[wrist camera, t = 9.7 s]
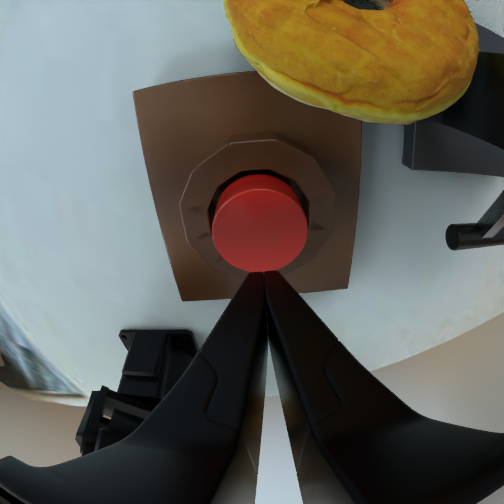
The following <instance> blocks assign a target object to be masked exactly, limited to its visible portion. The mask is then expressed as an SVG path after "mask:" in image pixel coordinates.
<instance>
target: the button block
mask: <svg viewBox="0 0 504 504" xmlns="http://www.w3.org/2000/svg"><path fill="white" fill-rule="evenodd" d="M133 98H134V104H135V110H136V116H137V122H138V128H139V133H140V139H141V144H142V149H143V154H144V159H145V164H146V169H147V173H148V178H149V182H150V187H151V191H152V195H153V200H154V204H155V208H156V212H157V216H158V220H159V224H160V227H161V231H162V235H163V239H164V242H165V246H166V249H167V253H168V257H169V260H170V263H171V267H172V270H173V274H174V277H175V280H176V283H177V287H178V290H179V293H180V296H181V299H182V301H199V300H218V299H232V298H233V297H234V295H235V294H236V292H237V290H238V289H239V287H240V286H241V284H242V283H243V281H244V279H245V278H246V276H247V275H248V273H250V272H248V271H244V270H241V269H239V268H236V267H234V266H233V265H231V264H229V263H228V262H227V261H226V260H225V259H224V258H222V256H221V255H220V254H219V252H218V251H217V249H216V247H215V245H214V242H213V238H212V224H213V220H214V215H215V211H216V207H217V203H218V200H219V198H220V196H221V194H222V192H223V191H224V190H225V189H226V188H227V187H228V186H229V185H230V184H231V183H232V182H234V181H236V180H237V179H239V178H242V177H244V176H248V175H253V174H265V175H270V176H274V177H277V178H279V179H281V180H283V181H284V182H286V183H287V184H288V185H289V186H290V187H291V188H292V189H293V190H294V192H295V193H296V195H297V197H298V199H299V201H300V204H301V206H302V209H303V211H304V214H305V216H306V219H307V224H308V236H307V240H306V243H305V245H304V247H303V249H302V251H301V252H300V254H299V255H298V256H297V257H296V258H295V259H294V260H293V261H292V262H290V263H289V264H287V265H286V266H284V267H282V268H280V269H277V271H279V272H280V273H281V275H282V276H283V277H284V278H285V279H286V280H287V281H288V282H289V284H290V285H291V286H292V287H293V288H294V289H295V290H296V292H297V293H309V292H319V291H329V290H339V289H347V288H348V283H349V277H350V270H351V263H352V256H353V248H354V240H355V231H356V221H357V211H358V200H359V186H360V170H361V146H362V120H358V119H356V118H352V117H348V116H344V115H341V114H339V113H336V112H333V111H331V110H328V109H323V108H319V107H314V106H310V105H307V104H304V103H302V102H299V101H297V100H295V99H293V98H291V97H290V96H288V95H285V94H284V93H282V92H280V91H279V90H277V89H275V88H274V87H273V86H271V85H270V84H269V83H268V82H267V81H266V80H265V79H264V78H263V77H262V76H261V75H260V74H259V73H258V72H257V71H248V72H237V73H227V74H219V75H211V76H204V77H198V78H192V79H186V80H181V81H175V82H170V83H165V84H161V85H156V86H152V87H148V88H144V89H140V90H136V91H134V92H133ZM263 275H264V272H263ZM264 288H265V286H264Z"/></svg>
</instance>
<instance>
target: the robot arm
mask: <svg viewBox="0 0 504 504" xmlns="http://www.w3.org/2000/svg"><path fill="white" fill-rule="evenodd" d="M264 286H265V288H264ZM265 300H266V301H265ZM266 313H267V315H266ZM267 327H268V329H267ZM119 337H120V339H121V341H122V342H123V344H124V346H125V347H126V349H127V350H128V354H127V357H126V360H125V363H124V367H123V370H122V373H123V374H122V377H121V381H120V384H119V387H118V391H117V392H115V391H112V390H110V389H109V388H108V387H105V386H103V385H102V387H101V390H100V391H92V394H91V397H90V400H89V403H88V406H87V409H86V411H85V414H84V416H83V419H82V421H81V424H80V426H79V428H78V431H77V434H76V441H77V443H78V445H79V446H80V453H81V454H82V456H81V457H78V458H76V459H73V460H70V461H67V462H64V463H61V464H58V465H54V466H49V467H33V466H30V465H27V464H25V463H24V462H22V461H20V460H18V459H16V458H14V457H12V456H7V457H5V458H2V459H0V504H255V496H256V486H257V475H258V466H259V455H260V445H261V444H260V443H261V433H262V422H263V410H264V398H265V385H266V371H267V357H268V339H269V346H270V352H271V356H272V361H273V366H274V371H275V375H276V380H277V385H278V389H279V394H280V398H281V403H282V408H283V412H284V417H285V422H286V426H287V431H288V436H289V440H290V445H291V450H292V454H293V459H294V463H295V468H296V471H297V477H298V481H299V487H300V491H301V496H302V500H303V504H504V433H494V432H488V431H483V430H478V429H472V428H468V427H463V426H458V425H454V424H449V423H445V422H441V421H437V420H433V419H430V418H427V417H425V416H423V415H421V414H419V413H417V412H416V411H414V410H412V409H411V408H410V407H409V406H408V405H406V404H405V403H404V402H403V401H402V400H401V399H399V398H398V397H397V396H396V395H395V394H394V393H393V392H391V391H390V390H389V389H388V388H387V387H386V386H385V385H383V384H382V383H381V382H380V381H379V380H378V379H377V378H376V377H374V376H373V375H372V374H371V373H370V372H369V371H368V370H367V369H366V368H365V367H364V366H363V365H361V364H360V363H359V362H358V360H357V359H356V358H355V357H354V356H353V355H352V354H351V353H350V352H349V351H348V350H347V349H346V347H345V346H344V345H343V344H342V343H341V342H340V341H338V338H337V337H336V336H335V335H334V334H333V333H332V331H331V330H330V329H329V328H328V327H327V326H326V325H325V323H324V322H323V321H322V320H321V319H320V318H319V317H318V315H317V314H316V313H315V312H314V311H313V310H312V309H311V307H310V306H309V305H308V304H307V303H306V302H305V301H304V300H303V298H302V297H301V296H300V295H299V294H298V293H297V292H296V290H295V289H294V288H293V287H292V286H291V285H290V284H289V282H288V281H287V280H286V279H285V278H284V277H283V276H282V275H281V273H280V272H279V271H277V270H271V271H265V272H264V275H263V272H262V271H259V272H250V273H248V275H247V276H246V278H245V279H244V281H243V283H242V284H241V286H240V287H239V289H238V290H237V292H236V294H235V295H234V297H233V298H232V300H231V301H230V303H229V305H228V306H227V308H226V309H225V311H224V312H223V314H222V316H221V317H220V319H219V320H218V322H217V323H216V325H215V326H214V328H213V330H212V331H211V333H210V334H209V336H208V337H207V339H206V341H205V342H204V344H203V345H202V347H201V348H200V350H199V348H198V346H197V343H196V340H195V337H194V334H193V333H192V332H191V331H190V330H121V331H120V333H119ZM103 414H104V415H106V416H109V417H111V420H110V419H107V418H104V417H103Z"/></svg>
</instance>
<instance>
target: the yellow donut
mask: <svg viewBox="0 0 504 504" xmlns="http://www.w3.org/2000/svg"><path fill="white" fill-rule="evenodd" d="M369 1H371V2H373V3H374V4H376V5H378V6H379V7H381V8H382V9H383V10H364V9H362V10H360V9H357V8H355V7H352V6H351V5H348V4H346V3H345V2H344V1H343V0H224V9H225V11H226V17H227V19H228V21H229V22H230V25H231V27H232V32H233V40H234V42H235V44H236V47H237V48H238V49H239V51H240V52H241V53H242V55H243V56H244V57H245V58H246V59H247V60H248V62H249V64H250V65H251V66H252V67H253V68H254V69H256V70H257V72H258V73H259V74H260V75H261V76H262V77H263V78H264V79H265V80H266V81H267V82H268V83H269V84H270V85H271V86H273V87H274V88H275V89H277V90H279V91H280V92H282V93H284V94H285V95H288V96H290V97H291V98H293V99H295V100H297V101H299V102H302V103H304V104H307V105H310V106H314V107H319V108H323V109H328V110H331V111H333V112H336V113H339V114H341V115H344V116H348V117H352V118H356V119H358V120H362V121H365V122H370V123H381V124H396V125H400V124H405V125H408V124H411V123H413V122H415V121H418V120H422V119H425V118H428V117H430V116H432V115H435V114H437V113H439V112H441V111H443V110H445V109H447V108H448V107H449V106H451V105H452V104H454V103H455V102H456V101H457V100H458V99H459V98H460V97H462V95H463V94H464V93H465V92H466V90H467V88H468V86H469V85H470V83H471V79H472V76H473V73H474V71H475V68H476V64H477V63H478V62H477V58H478V54H479V51H481V50H480V49H479V44H478V43H479V37H478V31H477V28H476V25H475V23H474V22H473V18H472V16H471V14H470V11H469V9H468V7H467V5H466V3H465V1H464V0H369Z"/></svg>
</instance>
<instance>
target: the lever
mask: <svg viewBox="0 0 504 504" xmlns="http://www.w3.org/2000/svg"><path fill="white" fill-rule="evenodd" d="M446 243H447V245H448V247H449V248H450V249H451V250H462V249H471V248H480V247H488V246H496V245H504V190H503V192H502V193H501V194H500V196H499V197H498V198H497V199H496V201H495V202H494V203H493V204H492V206H491V207H490V208H489V209H488V210H487V212H486V213H485V214H484V215H483V216H482V217H481V219H480V220H479V221H478V222H477V223H465V224H451V225H449V226H448V228H447V230H446Z"/></svg>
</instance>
